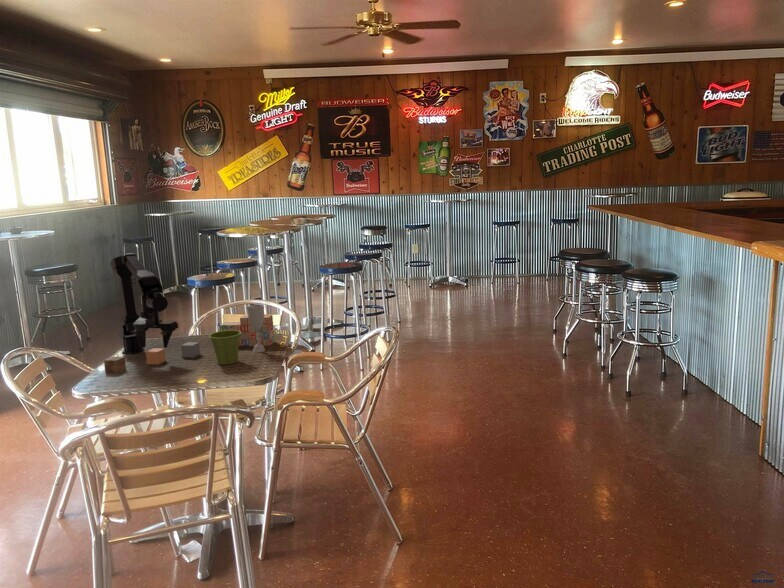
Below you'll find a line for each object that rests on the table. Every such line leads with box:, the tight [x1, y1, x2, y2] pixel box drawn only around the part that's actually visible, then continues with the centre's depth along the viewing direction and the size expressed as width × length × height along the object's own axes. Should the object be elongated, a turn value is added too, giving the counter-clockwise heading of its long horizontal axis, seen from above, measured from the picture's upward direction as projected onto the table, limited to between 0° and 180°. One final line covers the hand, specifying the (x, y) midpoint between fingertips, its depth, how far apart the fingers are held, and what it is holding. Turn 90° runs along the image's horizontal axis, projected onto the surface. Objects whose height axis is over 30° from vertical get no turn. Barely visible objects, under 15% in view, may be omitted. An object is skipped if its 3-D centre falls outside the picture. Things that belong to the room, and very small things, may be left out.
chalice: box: [245, 304, 266, 353], centre depth 243 cm, size 7×7×18 cm
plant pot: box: [208, 330, 241, 366], centre depth 229 cm, size 12×12×11 cm
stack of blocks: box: [219, 313, 275, 347], centre depth 255 cm, size 21×6×12 cm, turn 84°
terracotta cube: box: [145, 347, 167, 365], centre depth 234 cm, size 5×5×5 cm
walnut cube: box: [103, 356, 127, 375], centre depth 224 cm, size 5×5×5 cm
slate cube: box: [180, 341, 201, 359], centre depth 241 cm, size 5×5×5 cm
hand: (154, 347), depth 233 cm, fingers open, 9 cm apart
